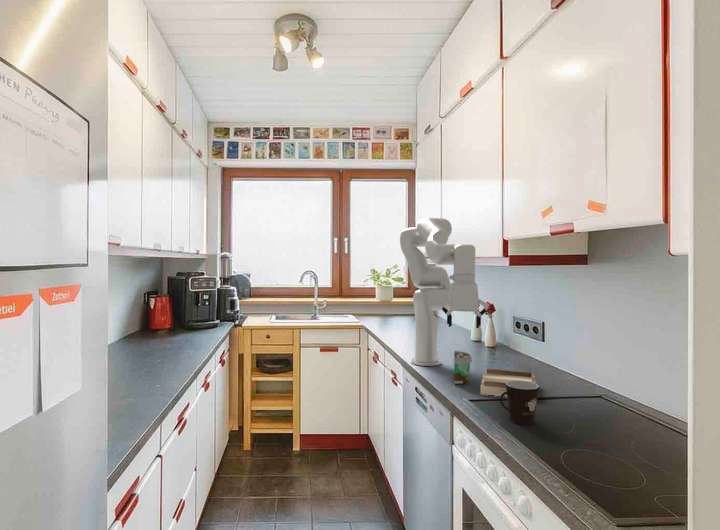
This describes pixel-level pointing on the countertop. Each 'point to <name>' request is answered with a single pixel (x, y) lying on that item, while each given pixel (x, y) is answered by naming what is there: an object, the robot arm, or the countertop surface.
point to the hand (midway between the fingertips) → (463, 326)
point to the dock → (502, 380)
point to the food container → (461, 367)
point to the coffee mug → (521, 401)
